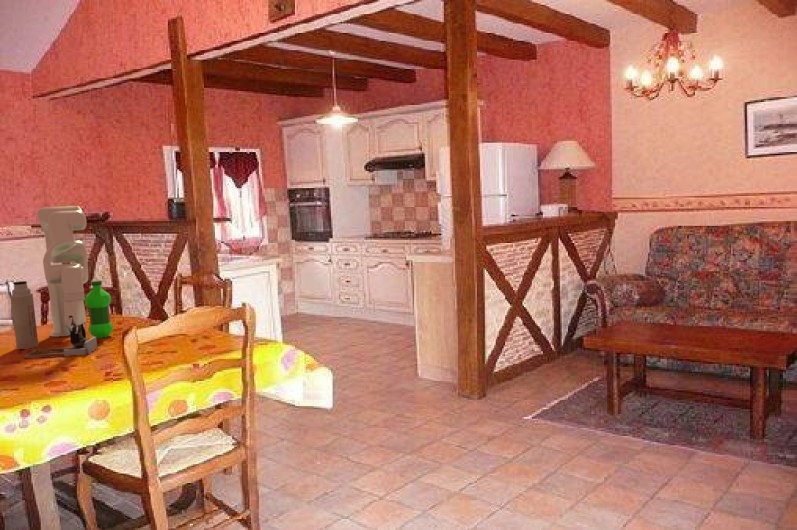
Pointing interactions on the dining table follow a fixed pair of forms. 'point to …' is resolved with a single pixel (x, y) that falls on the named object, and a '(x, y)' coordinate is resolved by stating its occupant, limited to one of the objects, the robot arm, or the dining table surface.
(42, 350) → the channel
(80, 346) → the dark grey chess piece
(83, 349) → the socket
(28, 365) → the dining table surface
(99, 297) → the plastic bottle
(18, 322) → the thermos bottle
